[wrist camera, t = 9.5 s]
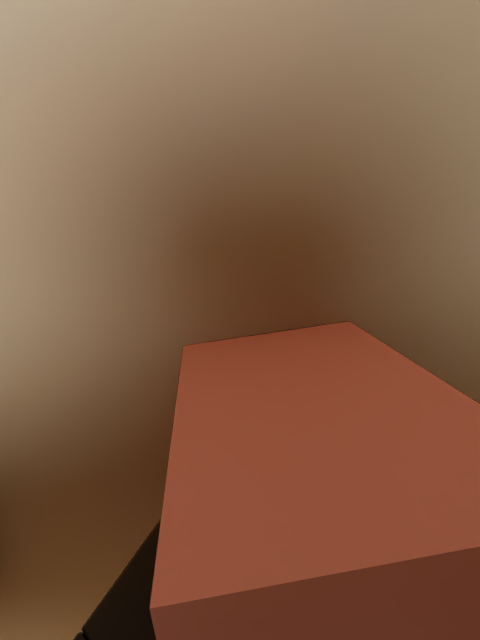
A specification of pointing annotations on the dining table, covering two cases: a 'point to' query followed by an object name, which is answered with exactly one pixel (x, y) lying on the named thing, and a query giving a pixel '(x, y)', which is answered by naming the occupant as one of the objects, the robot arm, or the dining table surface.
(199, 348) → the terracotta rectangular block
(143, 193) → the dining table surface
